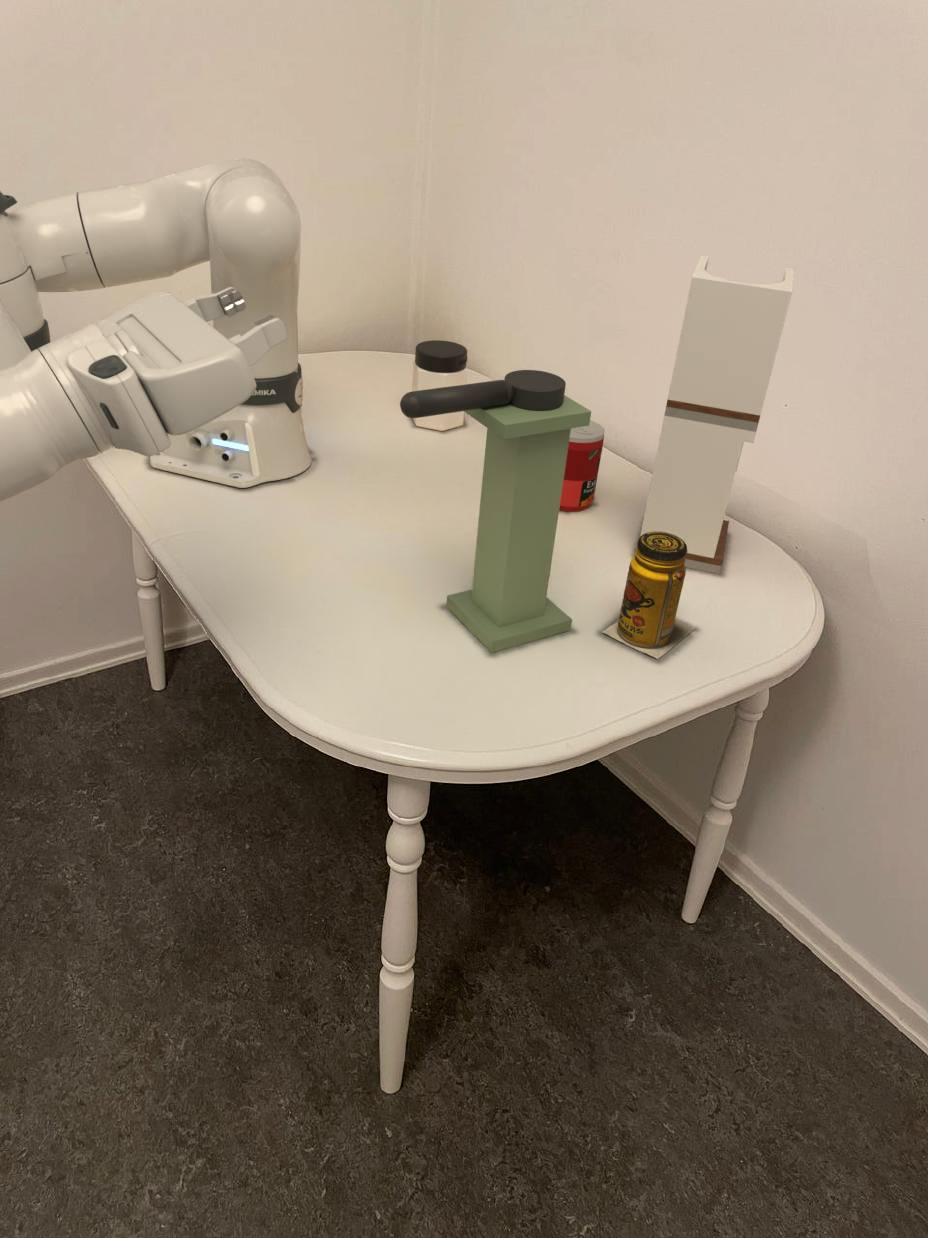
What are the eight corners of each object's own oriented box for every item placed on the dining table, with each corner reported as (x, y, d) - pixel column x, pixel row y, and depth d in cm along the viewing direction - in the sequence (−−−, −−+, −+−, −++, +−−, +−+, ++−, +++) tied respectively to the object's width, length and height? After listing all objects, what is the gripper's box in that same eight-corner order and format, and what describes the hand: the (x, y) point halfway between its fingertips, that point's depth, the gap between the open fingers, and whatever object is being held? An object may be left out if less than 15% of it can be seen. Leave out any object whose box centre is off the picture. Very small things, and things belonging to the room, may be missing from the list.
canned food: (590, 516, 132) (603, 441, 126) (533, 507, 133) (542, 432, 127) (595, 492, 138) (607, 420, 132) (540, 484, 139) (550, 412, 133)
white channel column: (719, 574, 121) (792, 291, 102) (636, 556, 123) (692, 277, 104) (725, 534, 131) (793, 268, 111) (648, 518, 133) (701, 255, 113)
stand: (483, 655, 103) (508, 426, 88) (438, 608, 110) (454, 389, 95) (570, 630, 108) (607, 411, 94) (522, 587, 115) (549, 376, 101)
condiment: (601, 633, 108) (619, 539, 101) (640, 605, 114) (659, 515, 107) (657, 661, 104) (679, 566, 98) (694, 630, 110) (718, 538, 103)
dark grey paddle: (416, 431, 86) (417, 405, 85) (386, 407, 90) (387, 382, 89) (575, 406, 94) (578, 383, 93) (540, 385, 98) (543, 362, 97)
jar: (467, 431, 154) (473, 357, 147) (417, 432, 152) (421, 357, 145) (455, 410, 161) (461, 339, 154) (407, 410, 159) (411, 338, 152)
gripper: (93, 381, 84) (232, 314, 88) (159, 465, 70) (323, 381, 73) (56, 314, 80) (204, 247, 84) (117, 389, 66) (294, 304, 69)
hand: (260, 310), depth 78 cm, fingers open, 8 cm apart
